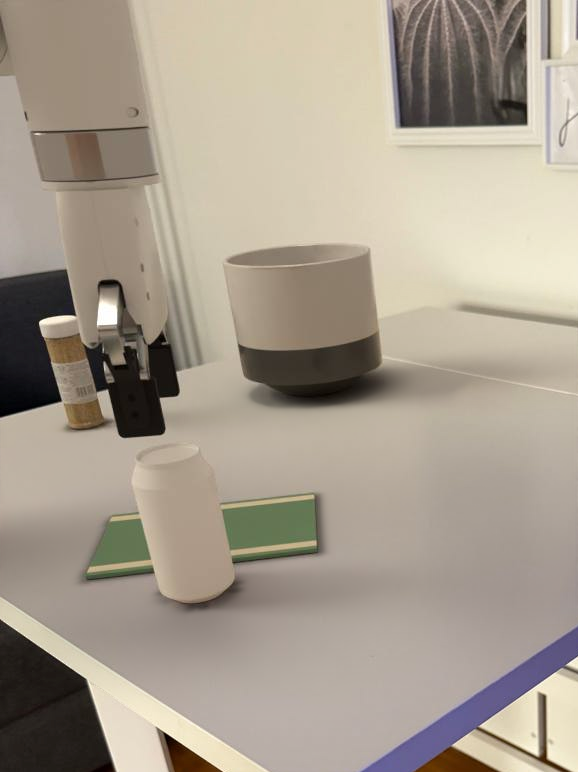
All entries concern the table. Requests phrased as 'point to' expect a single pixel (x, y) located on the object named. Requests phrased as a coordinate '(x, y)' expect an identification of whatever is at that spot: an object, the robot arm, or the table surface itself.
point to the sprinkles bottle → (72, 371)
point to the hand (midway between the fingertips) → (152, 415)
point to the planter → (305, 316)
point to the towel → (243, 528)
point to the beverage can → (183, 522)
